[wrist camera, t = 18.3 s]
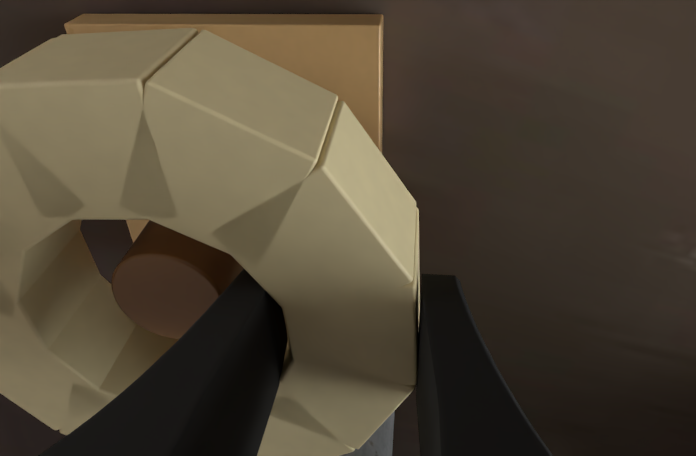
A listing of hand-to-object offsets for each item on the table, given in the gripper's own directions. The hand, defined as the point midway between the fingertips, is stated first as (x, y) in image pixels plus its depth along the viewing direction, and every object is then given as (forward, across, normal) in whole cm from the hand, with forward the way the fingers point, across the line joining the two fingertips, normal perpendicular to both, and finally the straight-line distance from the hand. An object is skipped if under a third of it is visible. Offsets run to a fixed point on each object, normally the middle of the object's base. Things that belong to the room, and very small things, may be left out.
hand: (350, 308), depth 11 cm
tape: (+1, +4, 0) cm, 4 cm away
